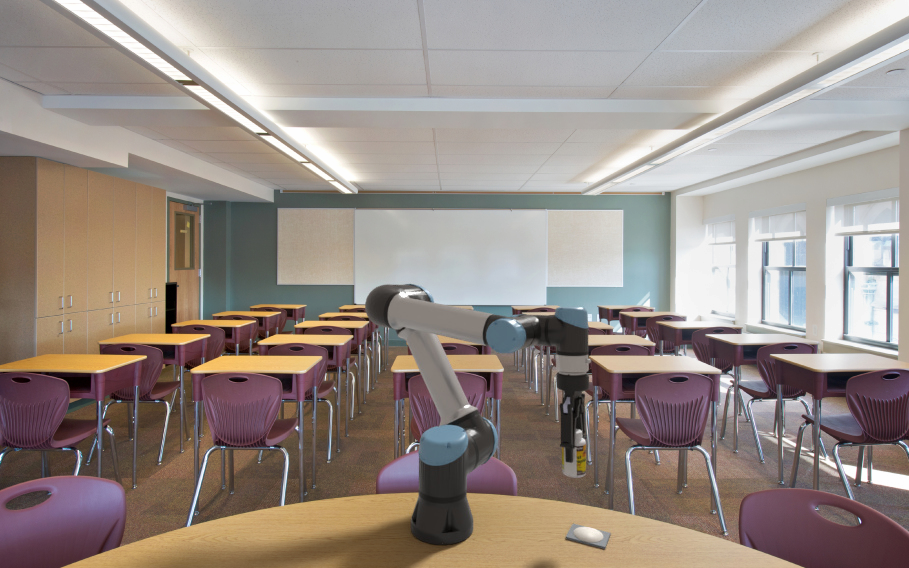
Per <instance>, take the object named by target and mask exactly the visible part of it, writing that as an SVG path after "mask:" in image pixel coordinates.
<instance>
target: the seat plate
mask: <svg viewBox="0 0 909 568" xmlns="http://www.w3.org/2000/svg"><path fill="white" fill-rule="evenodd" d="M611 535H612V534H611V532H609V531H604V530H602V529H601V530H600V529H598V528H593V527H589V526H584V525H580V524H578V523H572V524H571V526H570V527H569V530H568V531H567V533H566V535H565V540H569V541H571V542H572V541H573V542H577V543H581V544H584V545H587V546H590V547H595V548H600V549H602V550H606V548H607V546H608V542H609V540H610V538H611Z"/></svg>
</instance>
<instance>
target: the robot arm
mask: <svg viewBox="0 0 909 568" xmlns="http://www.w3.org/2000/svg"><path fill="white" fill-rule="evenodd" d="M365 299H366V300H365V303H364V305H365V306H364V309H365V310H364V311H365V313H366V316H367V317H368V319H369V321H370V322H372V323H373V324H374V325H377V326H378V327H383V328H388V329H392V330H395V332H396V334H397V337H398V338H400V339H403V340H405V341H406V343H407V346H408V348H409V350H410V353H411V355H412V358H413V359H414V361H415V364H416V366H417V368H418V370H419V373H420V375H421V377H422V380H423V381H424V382H423V383H424V384H425V385H426V388H427V390H428V392H429V395H430V397H431V399H432V402H433V403H434V406H435V407H436V411H437V413H438V415H439V417H440V422H439V425H438V426H437V425H436V426H432V427H430V428H429V429H427V430H425V431H424V432H423V433H422V434H421V436H420V439H419V446H418V452H417V453H418V497H417V500H416V502H415V507H414V509H413V512H412V514H411V518H410V531H411V533H412V535H413V536H414V537H415V538H416V539H418V540H420V541H421V542H423V543H428V544H432V545H453V544H457V543H460V542H463V541H465V540H468V538H469V537H471V535H472V534H473V533H474V516H473V514H472V510H471V506H470V504H469V500H468V494H467V492H468V491H467V486H468V479H467V478H468V475H469V474H470V473H472V472H473V471H475V470H477V469H478V468H479V467H480V466H482V465H484V464H486V463H488V461H489V460H490V459H491V458H492V457H493V456H494V455H495V453H496V451H497V449H498V446H499V435H498V432H497V429H496V427H495V425H494V424H493V422H491V420H489V419H487V418H486V417H485V416H484V417H483V416H482V415H481V412H480V410H479V409H478V407H477V406H473V405H471V404H470V402H469V401H468V398H467V396H466V394H465V392H464V390H463V388H462V385H461V383H460V381H459V379H458V377H457V374H456V373H455V370H454V369H453V367H452V364H451V362H450V360H449V358H448V355H447V353H446V352H445V349H444V348H443V345H442V343H441V341H440V339H439V337H438V336H442V337H445V338H450V339H454V340H460V341H464V342H468V343H473V344H477V345H481V346H486V347H489V348H491V349H492V350H493V351H494V352H496V353H498V354H511V353H515V352H517V351H520V350H523V349H526V348H530V347H532V346H537V347H538V346H543V347H546V346H547V347H555V370H556V371H557V373H556V377H555V378H556V381H555V382H556V388H557V389H558V390H561V391H563V393H564V395H563V397H562V401H561V402H560V404H559V411H560V444H559V447H561V448H562V447H564V474H563V475H565V476H566V475H568V476H574V477H576V476H577V456H576V447H575V434H576V429H579V430H581V431H582V435H583V436H582V438H583V439H584V440H586V439H587V436H588V435H587V434H586V414H585V413H586V412H585V411H586V407H585V401H586V398H585V397H586V393H584V392H586V391H588V390H590V375H589V373H587V372H589V367H590V366H589V364H591V363H592V359H590V358H589V328H590V326H589V323H588V322H589V320H588V311H587V309H586V308H585V307H582V306H559V307H556V308H555V310H554V311H555V312H554V314H549V315H547V314H544V315H543V314H542V315H541V314H527V313H521V314H513V315H510V316H505V315H500V314H495V313H488V312H485V311H479V310H475V309H474V310H473V309H468V308H464V307H463V308H462V307H457V306H453V305H448V304H442V303H437V302H435V300H434V297H433V295H432V294H431V292H430V291H429V290H428V289H427V288H426V287H424V286H422V285H419V284H412V283H404V284H390V283H389V284H388V283H387V284H382V285H379V286H376V287H374V288H372V290H371V291H370V292H369V293H368V295H367V297H366V298H365ZM582 392H583V393H582ZM568 476H567V477H568Z"/></svg>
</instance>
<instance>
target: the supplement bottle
mask: <svg viewBox="0 0 909 568" xmlns="http://www.w3.org/2000/svg"><path fill="white" fill-rule="evenodd" d="M582 436H583V435H582V431H581V430H579V429H576V434H575V447H576V456H577V476H576V477H574V476H568V475H565V476H567V477H569V478H575V479H578V478H582V477H583V478H584V476H586V474H587V443H586V439H583V438H582ZM561 472H562V474H563V475H564V447H561Z"/></svg>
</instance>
